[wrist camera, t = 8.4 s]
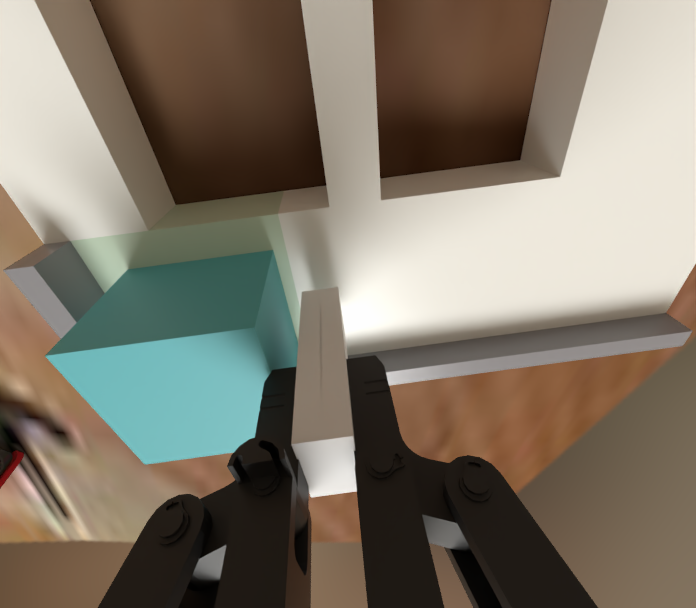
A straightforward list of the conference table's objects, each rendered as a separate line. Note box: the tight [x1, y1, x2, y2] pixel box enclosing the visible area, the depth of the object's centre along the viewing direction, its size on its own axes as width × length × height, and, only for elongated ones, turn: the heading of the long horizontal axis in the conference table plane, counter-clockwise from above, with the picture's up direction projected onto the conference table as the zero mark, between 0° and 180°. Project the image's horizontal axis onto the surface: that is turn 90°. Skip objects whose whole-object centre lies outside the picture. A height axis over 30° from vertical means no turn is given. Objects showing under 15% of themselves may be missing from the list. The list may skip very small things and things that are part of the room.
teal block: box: [45, 250, 298, 464], centre depth 13 cm, size 6×6×5 cm
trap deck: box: [0, 0, 696, 385], centre depth 13 cm, size 18×28×5 cm, turn 96°
